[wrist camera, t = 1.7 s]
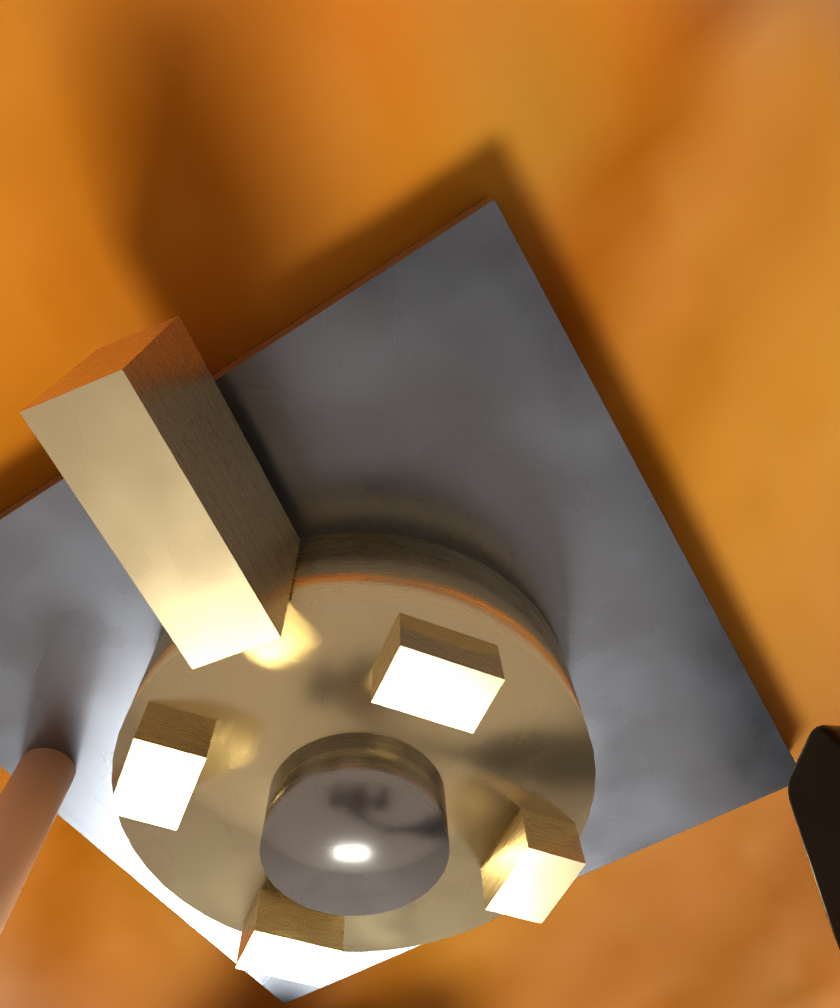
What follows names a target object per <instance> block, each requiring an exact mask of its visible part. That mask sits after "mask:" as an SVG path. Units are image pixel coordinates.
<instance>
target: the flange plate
mask: <svg viewBox="0 0 840 1008" xmlns="http://www.w3.org/2000/svg"><path fill="white" fill-rule="evenodd" d="M212 377H213V379H214V381H215V383H216V385H217V386H218V388H219V390H220V392H221V394H222V396H223V398H224V399H225V401H226V403H227V405H228V407H229V409H230V411H231V412H232V414H233V416H234V418H235V420H236V422H237V424H238V425H239V427H240V429H241V431H242V433H243V435H244V437H245V438H246V440H247V442H248V444H249V446H250V448H251V450H252V451H253V453H254V455H255V457H256V459H257V461H258V463H259V464H260V466H261V468H262V470H263V472H264V474H265V476H266V477H267V479H268V481H269V483H270V485H271V487H272V489H273V490H274V492H275V494H276V496H277V498H278V500H279V502H280V503H281V505H282V507H283V509H284V511H285V513H286V515H287V516H288V518H289V520H290V522H291V524H292V526H293V528H294V529H295V531H296V533H297V535H298V537H299V539H300V538H305V537H311V536H317V535H322V534H332V533H348V532H366V533H385V534H393V535H399V536H405V537H411V538H417V539H421V540H424V541H428V542H431V543H434V544H438V545H441V546H445V547H448V548H450V549H452V550H455V551H457V552H459V553H462V554H464V555H466V556H469V557H471V558H473V559H475V560H477V561H479V562H480V563H482V564H484V565H485V566H487V567H489V568H490V569H492V570H494V571H496V572H497V573H499V574H500V575H501V576H503V577H504V578H505V579H506V580H508V581H509V582H510V583H511V584H513V585H514V586H515V587H517V588H518V589H519V590H520V591H521V592H522V593H523V594H524V595H525V596H526V597H527V598H528V599H529V600H530V601H531V602H532V604H533V605H534V606H535V607H536V608H537V609H538V610H539V612H540V613H541V615H542V616H543V617H544V619H545V620H546V622H547V623H548V625H549V626H550V627H551V629H552V631H553V633H554V635H555V637H556V639H557V641H558V643H559V646H560V648H561V650H562V653H563V656H564V659H565V662H566V665H567V668H568V671H569V674H570V677H571V680H572V683H573V686H574V689H575V692H576V695H577V698H578V702H579V705H580V708H581V711H582V714H583V717H584V720H585V723H586V726H587V729H588V733H589V736H590V739H591V743H592V746H593V751H594V760H595V769H596V777H595V791H594V798H593V802H592V806H591V810H590V814H589V818H588V820H587V822H586V825H585V827H584V829H583V832H582V834H581V836H580V838H579V839H580V843H581V847H582V850H583V854H584V858H585V862H586V865H585V866H584V867H583V869H582V870H581V871H580V873H579V874H578V875H577V877H579V876H581V875H583V874H586V873H588V872H590V871H592V870H595V869H597V868H599V867H602V866H604V865H606V864H609V863H611V862H613V861H616V860H618V859H620V858H623V857H625V856H627V855H629V854H632V853H634V852H636V851H639V850H641V849H643V848H646V847H648V846H650V845H653V844H655V843H657V842H660V841H662V840H664V839H667V838H669V837H671V836H673V835H676V834H678V833H680V832H683V831H685V830H687V829H690V828H692V827H694V826H697V825H699V824H701V823H704V822H706V821H708V820H710V819H713V818H715V817H717V816H720V815H722V814H724V813H727V812H729V811H731V810H734V809H736V808H738V807H741V806H743V805H745V804H748V803H750V802H752V801H754V800H757V799H759V798H761V797H764V796H766V795H768V794H771V793H773V792H775V791H778V790H780V789H782V788H785V787H787V786H788V784H789V779H790V776H791V773H792V771H793V769H794V767H795V765H796V763H795V761H794V759H793V757H792V756H791V754H790V752H789V750H788V748H787V746H786V744H785V743H784V741H783V739H782V737H781V735H780V733H779V731H778V729H777V728H776V726H775V724H774V722H773V720H772V718H771V716H770V714H769V713H768V711H767V709H766V707H765V705H764V703H763V701H762V699H761V698H760V696H759V694H758V692H757V690H756V688H755V686H754V684H753V683H752V681H751V679H750V677H749V675H748V673H747V671H746V669H745V668H744V666H743V664H742V662H741V660H740V658H739V656H738V654H737V653H736V651H735V649H734V647H733V645H732V643H731V641H730V639H729V638H728V636H727V634H726V632H725V630H724V628H723V626H722V624H721V623H720V621H719V619H718V617H717V615H716V613H715V611H714V609H713V608H712V606H711V604H710V602H709V600H708V598H707V596H706V595H705V593H704V591H703V589H702V587H701V585H700V583H699V581H698V580H697V578H696V576H695V574H694V572H693V570H692V568H691V566H690V565H689V563H688V561H687V559H686V557H685V555H684V553H683V551H682V550H681V548H680V546H679V544H678V542H677V540H676V538H675V536H674V535H673V533H672V531H671V529H670V527H669V525H668V523H667V521H666V520H665V518H664V516H663V514H662V512H661V510H660V508H659V506H658V505H657V503H656V501H655V499H654V497H653V495H652V493H651V491H650V490H649V488H648V486H647V484H646V482H645V480H644V478H643V476H642V475H641V473H640V471H639V469H638V467H637V465H636V463H635V461H634V460H633V458H632V456H631V454H630V452H629V450H628V448H627V447H626V445H625V443H624V441H623V439H622V437H621V435H620V433H619V432H618V430H617V428H616V426H615V424H614V422H613V420H612V418H611V417H610V415H609V413H608V411H607V409H606V407H605V405H604V403H603V402H602V400H601V398H600V396H599V394H598V392H597V390H596V388H595V387H594V385H593V383H592V381H591V379H590V377H589V375H588V373H587V372H586V370H585V368H584V366H583V364H582V362H581V360H580V358H579V357H578V355H577V353H576V351H575V349H574V347H573V345H572V343H571V342H570V340H569V338H568V336H567V334H566V332H565V330H564V328H563V327H562V325H561V323H560V321H559V319H558V317H557V315H556V314H555V312H554V310H553V308H552V306H551V304H550V302H549V300H548V299H547V297H546V295H545V293H544V291H543V289H542V287H541V285H540V284H539V282H538V280H537V278H536V276H535V274H534V272H533V270H532V269H531V267H530V265H529V263H528V261H527V259H526V257H525V255H524V254H523V252H522V250H521V248H520V246H519V244H518V242H517V240H516V239H515V237H514V235H513V233H512V231H511V229H510V227H509V225H508V224H507V222H506V220H505V218H504V216H503V214H502V212H501V210H500V209H499V207H498V205H497V203H496V201H495V199H493V198H492V197H491V196H487V197H486V198H484V199H483V200H481V201H480V202H478V203H476V204H475V205H473V206H472V207H470V208H469V209H467V210H466V211H464V212H463V213H461V214H459V215H458V216H456V217H455V218H453V219H452V220H450V221H449V222H447V223H446V224H444V225H443V226H441V227H439V228H438V229H436V230H435V231H433V232H432V233H430V234H429V235H427V236H426V237H424V238H423V239H421V240H419V241H418V242H416V243H415V244H413V245H412V246H410V247H409V248H407V249H406V250H404V251H403V252H401V253H399V254H398V255H396V256H395V257H393V258H392V259H390V260H389V261H387V262H386V263H384V264H383V265H381V266H379V267H378V268H376V269H375V270H373V271H372V272H370V273H369V274H367V275H366V276H364V277H363V278H361V279H359V280H358V281H356V282H355V283H353V284H352V285H350V286H349V287H347V288H346V289H344V290H343V291H341V292H339V293H338V294H336V295H335V296H333V297H332V298H330V299H329V300H327V301H326V302H324V303H323V304H321V305H319V306H318V307H316V308H315V309H313V310H312V311H310V312H309V313H307V314H306V315H304V316H303V317H301V318H299V319H298V320H296V321H295V322H293V323H292V324H290V325H289V326H287V327H286V328H284V329H283V330H281V331H279V332H278V333H276V334H275V335H273V336H272V337H270V338H269V339H267V340H266V341H264V342H263V343H261V344H259V345H258V346H256V347H255V348H253V349H252V350H250V351H249V352H247V353H246V354H244V355H243V356H241V357H239V358H238V359H236V360H235V361H233V362H232V363H230V364H229V365H227V366H226V367H224V368H223V369H221V370H219V371H218V372H216V373H215V374H213V375H212ZM164 629H165V628H164V626H163V625H162V623H161V622H160V620H159V619H158V617H157V616H156V614H155V613H154V612H153V610H152V609H151V607H150V606H149V604H148V603H147V601H146V600H145V598H144V597H143V595H142V594H141V592H140V591H139V589H138V588H137V586H136V585H135V583H134V582H133V580H132V579H131V577H130V576H129V574H128V573H127V571H126V570H125V568H124V567H123V565H122V564H121V562H120V561H119V559H118V558H117V556H116V555H115V553H114V552H113V550H112V549H111V547H110V546H109V544H108V543H107V542H106V540H105V539H104V537H103V536H102V534H101V533H100V531H99V530H98V528H97V527H96V525H95V524H94V522H93V521H92V519H91V518H90V516H89V515H88V513H87V512H86V510H85V509H84V507H83V506H82V504H81V503H80V501H79V500H78V498H77V497H76V495H75V494H74V492H73V491H72V489H71V488H70V486H69V485H68V483H67V482H66V480H65V479H64V477H63V476H62V475H61V474H59V475H58V476H56V477H55V478H53V479H52V480H50V481H49V482H47V483H46V484H44V485H42V486H41V487H39V488H38V489H36V490H35V491H33V492H32V493H30V494H29V495H27V496H26V497H24V498H22V499H21V500H19V501H18V502H16V503H15V504H13V505H12V506H10V507H9V508H7V509H6V510H4V511H2V512H1V513H0V766H1V767H2V768H3V769H5V770H6V771H7V772H8V773H9V774H11V775H12V774H13V772H14V770H15V768H16V767H17V765H18V763H19V761H20V760H21V758H22V756H23V755H24V754H25V753H26V752H28V751H30V750H32V749H36V748H50V749H54V750H57V751H60V752H62V753H64V754H65V755H67V756H68V757H69V758H70V759H71V760H72V762H73V763H74V765H75V768H76V774H75V777H74V779H73V781H72V784H71V786H70V788H69V790H68V792H67V794H66V796H65V798H64V801H63V803H62V805H61V807H60V809H59V811H58V813H57V814H58V815H60V816H61V817H62V818H63V819H64V820H66V821H67V822H68V823H69V824H70V825H72V826H73V827H74V828H75V829H76V830H77V831H79V832H80V833H81V834H82V835H83V836H85V837H86V838H87V839H88V840H89V841H91V842H92V843H93V844H94V845H95V846H97V847H98V848H99V849H100V850H101V851H103V852H104V853H105V854H106V855H107V856H109V857H110V858H111V859H112V860H113V861H115V862H116V863H117V864H118V865H119V866H120V867H122V868H123V869H124V870H125V871H126V872H128V873H129V874H130V875H131V876H132V877H134V878H135V879H136V880H137V881H138V882H140V883H141V884H142V885H143V886H144V887H146V888H147V889H148V890H149V891H150V892H152V893H153V894H154V895H155V896H156V897H157V898H159V899H160V900H161V901H162V902H163V903H165V904H166V905H167V906H168V907H169V908H171V909H172V910H173V911H174V912H175V913H177V914H178V915H179V916H180V917H181V918H183V919H184V920H185V921H186V922H187V923H189V924H190V925H191V926H192V927H193V928H195V929H196V930H197V931H198V932H199V933H200V934H202V935H203V936H204V937H205V938H206V939H208V940H209V941H210V942H211V943H212V944H214V945H215V946H216V947H217V948H218V949H220V950H221V951H222V952H223V953H224V954H226V955H227V956H228V957H229V958H230V959H232V960H233V961H234V962H235V963H236V962H237V956H238V950H239V945H240V939H241V933H242V932H240V931H237V930H235V929H232V928H229V927H227V926H225V925H223V924H221V923H219V922H217V921H215V920H213V919H211V918H209V917H207V916H205V915H204V914H202V913H200V912H199V911H197V910H196V909H194V908H193V907H191V906H189V905H188V904H186V903H185V902H183V901H182V900H181V899H179V898H178V897H177V896H176V895H175V894H173V893H172V892H171V891H170V890H168V889H167V888H166V887H165V886H164V885H163V884H162V883H161V882H160V881H159V880H158V879H157V878H156V877H155V876H154V875H153V874H152V873H151V872H150V871H149V870H148V869H147V868H146V866H145V865H144V863H143V862H142V861H141V859H140V858H139V856H138V855H137V854H136V852H135V851H134V849H133V848H132V846H131V844H130V842H129V840H128V838H127V836H126V834H125V832H124V830H123V829H122V827H121V823H120V820H119V817H118V815H114V814H110V813H107V812H108V810H109V807H110V804H111V801H112V798H113V789H112V781H111V780H112V762H113V754H114V750H115V746H116V742H117V738H118V734H119V731H120V729H121V726H122V724H123V722H124V719H125V717H126V715H127V713H128V710H129V708H130V706H131V703H132V701H133V699H134V696H135V694H136V692H137V690H138V687H139V685H140V683H141V680H142V678H143V676H144V673H145V671H146V669H147V666H148V664H149V662H150V660H151V657H152V655H153V653H154V650H155V648H156V646H157V644H158V641H159V639H160V637H161V635H162V632H163V631H164ZM418 946H419V945H418ZM414 947H417V946H413V947H407V948H400V949H394V950H384V951H370V952H342V954H341V956H340V957H339V959H338V961H337V962H336V964H335V966H334V967H333V969H332V971H331V972H330V974H329V976H328V978H327V979H326V981H325V983H324V984H323V986H322V987H324V986H326V985H329V984H331V983H333V982H336V981H338V980H340V979H343V978H345V977H347V976H349V975H352V974H354V973H356V972H359V971H361V970H363V969H366V968H368V967H370V966H373V965H375V964H377V963H380V962H382V961H384V960H387V959H389V958H391V957H393V956H396V955H398V954H400V953H403V952H405V951H407V950H410V949H412V948H414ZM245 971H246V970H245ZM246 972H247V973H248V974H249V975H251V976H252V977H253V978H254V979H255V980H257V981H258V982H259V983H260V984H261V985H263V986H264V987H265V988H266V989H267V990H269V991H270V992H271V993H272V994H273V995H275V996H276V997H277V998H278V999H279V1000H281V1001H282V1002H283V1003H284V1004H285V1003H287V1002H289V1001H292V1000H294V999H296V998H299V997H301V996H303V995H306V994H308V993H310V992H312V991H315V990H317V989H319V988H322V987H318V986H314V985H309V984H305V983H300V982H296V981H291V980H287V979H282V978H278V977H273V976H269V975H264V974H260V973H255V972H251V971H246Z"/></svg>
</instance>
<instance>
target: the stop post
mask: <svg viewBox="0 0 840 1008" xmlns="http://www.w3.org/2000/svg"><path fill="white" fill-rule="evenodd" d="M75 774H76V768H75V765H74V763H73V762H72V760H71V759H70V758H69V757H68V756H67V755H65V754H64V753H62V752H60V751H57V750H54V749H50V748H36V749H32V750H30V751H28V752H26V753H25V754H24V755H23V756H22V758H21V760H20V761H19V763H18V765H17V767H16V768H15V770H14V772H13V774H12V775H11V777H10V779H9V781H8V782H7V784H6V786H5V788H4V789H3V791H2V793H1V795H0V934H1V932H2V930H3V928H4V926H5V924H6V921H7V919H8V917H9V915H10V913H11V911H12V909H13V907H14V904H15V902H16V900H17V898H18V896H19V894H20V892H21V890H22V887H23V885H24V883H25V881H26V879H27V877H28V875H29V873H30V871H31V868H32V866H33V864H34V862H35V860H36V858H37V856H38V854H39V851H40V849H41V847H42V845H43V843H44V841H45V839H46V837H47V834H48V832H49V830H50V828H51V826H52V824H53V822H54V820H55V818H56V815H57V813H58V811H59V809H60V807H61V805H62V803H63V801H64V798H65V796H66V794H67V792H68V790H69V788H70V786H71V784H72V781H73V779H74V777H75Z"/></svg>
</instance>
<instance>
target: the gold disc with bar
mask: <svg viewBox="0 0 840 1008" xmlns="http://www.w3.org/2000/svg"><path fill="white" fill-rule="evenodd" d="M20 413H21V415H22V416H23V418H24V419H25V421H26V422H27V424H28V425H29V427H30V428H31V430H32V431H33V433H34V434H35V436H36V437H37V439H38V440H39V442H40V443H41V445H42V446H43V448H44V449H45V451H46V452H47V454H48V455H49V457H50V458H51V460H52V461H53V463H54V464H55V466H56V467H57V469H58V470H59V472H60V473H61V475H62V476H63V477H64V479H65V480H66V482H67V483H68V485H69V486H70V488H71V489H72V491H73V492H74V494H75V495H76V497H77V498H78V500H79V501H80V503H81V504H82V506H83V507H84V509H85V510H86V512H87V513H88V515H89V516H90V518H91V519H92V521H93V522H94V524H95V525H96V527H97V528H98V530H99V531H100V533H101V534H102V536H103V537H104V539H105V540H106V542H107V543H108V544H109V546H110V547H111V549H112V550H113V552H114V553H115V555H116V556H117V558H118V559H119V561H120V562H121V564H122V565H123V567H124V568H125V570H126V571H127V573H128V574H129V576H130V577H131V579H132V580H133V582H134V583H135V585H136V586H137V588H138V589H139V591H140V592H141V594H142V595H143V597H144V598H145V600H146V601H147V603H148V604H149V606H150V607H151V609H152V610H153V612H154V613H155V614H156V616H157V617H158V619H159V620H160V622H161V623H162V625H163V626H164V628H165V629H164V631H163V632H162V635H161V637H160V639H159V641H158V644H157V646H156V648H155V650H154V653H153V655H152V657H151V660H150V662H149V664H148V666H147V669H146V671H145V673H144V676H143V678H142V680H141V683H140V685H139V687H138V690H137V692H136V694H135V696H134V699H133V701H132V703H131V706H130V708H129V710H128V713H127V715H126V717H125V719H124V722H123V724H122V726H121V729H120V731H119V734H118V738H117V742H116V746H115V750H114V754H113V762H112V780H111V781H112V789H113V798H112V801H111V804H110V807H109V810H108V812H107V813H110V814H114V815H118V817H119V820H120V823H121V827H122V829H123V830H124V832H125V834H126V836H127V838H128V840H129V842H130V844H131V846H132V848H133V849H134V851H135V852H136V854H137V855H138V856H139V858H140V859H141V861H142V862H143V863H144V865H145V866H146V868H147V869H148V870H149V871H150V872H151V873H152V874H153V875H154V876H155V877H156V878H157V879H158V880H159V881H160V882H161V883H162V884H163V885H164V886H165V887H166V888H167V889H168V890H170V891H171V892H172V893H173V894H175V895H176V896H177V897H178V898H179V899H181V900H182V901H183V902H185V903H186V904H188V905H189V906H191V907H193V908H194V909H196V910H197V911H199V912H200V913H202V914H204V915H205V916H207V917H209V918H211V919H213V920H215V921H217V922H219V923H221V924H223V925H225V926H227V927H229V928H232V929H235V930H237V931H240V932H242V933H241V939H240V945H239V950H238V956H237V962H236V967H235V968H237V969H242V970H246V971H251V972H255V973H260V974H264V975H269V976H273V977H278V978H282V979H287V980H291V981H296V982H300V983H305V984H309V985H314V986H318V987H322V986H323V984H324V983H325V981H326V979H327V978H328V976H329V974H330V972H331V971H332V969H333V967H334V966H335V964H336V962H337V961H338V959H339V957H340V956H341V954H342V952H370V951H384V950H394V949H400V948H407V947H413V946H418V945H422V944H426V943H431V942H435V941H439V940H443V939H446V938H449V937H452V936H454V935H457V934H460V933H463V932H466V931H469V930H471V929H473V928H475V927H478V926H480V925H482V924H484V923H487V922H489V921H491V920H493V919H495V918H496V917H498V916H500V915H502V914H505V915H509V916H513V917H517V918H521V919H524V920H528V921H532V922H536V923H540V924H542V922H543V921H544V920H545V918H546V917H547V916H548V914H549V913H550V912H551V910H552V909H553V907H554V906H555V905H556V903H557V902H558V901H559V899H560V898H561V897H562V895H563V894H564V893H565V891H566V890H567V889H568V887H569V886H570V885H571V883H572V882H573V881H574V879H575V878H576V877H577V875H578V874H579V873H580V871H581V870H582V869H583V867H584V866H585V865H586V862H585V858H584V854H583V850H582V847H581V843H580V839H579V838H580V836H581V834H582V832H583V829H584V827H585V825H586V822H587V820H588V818H589V814H590V810H591V806H592V802H593V798H594V791H595V777H596V769H595V760H594V751H593V746H592V743H591V739H590V736H589V733H588V729H587V726H586V723H585V720H584V717H583V714H582V711H581V708H580V705H579V702H578V698H577V695H576V692H575V689H574V686H573V683H572V680H571V677H570V674H569V671H568V668H567V665H566V662H565V659H564V656H563V653H562V650H561V648H560V646H559V643H558V641H557V639H556V637H555V635H554V633H553V631H552V629H551V627H550V626H549V625H548V623H547V622H546V620H545V619H544V617H543V616H542V615H541V613H540V612H539V610H538V609H537V608H536V607H535V606H534V605H533V604H532V602H531V601H530V600H529V599H528V598H527V597H526V596H525V595H524V594H523V593H522V592H521V591H520V590H519V589H518V588H517V587H515V586H514V585H513V584H511V583H510V582H509V581H508V580H506V579H505V578H504V577H503V576H501V575H500V574H499V573H497V572H496V571H494V570H492V569H490V568H489V567H487V566H485V565H484V564H482V563H480V562H479V561H477V560H475V559H473V558H471V557H469V556H466V555H464V554H462V553H459V552H457V551H455V550H452V549H450V548H448V547H445V546H441V545H438V544H434V543H431V542H428V541H424V540H421V539H417V538H411V537H405V536H399V535H393V534H385V533H366V532H348V533H332V534H322V535H317V536H311V537H305V538H300V539H299V537H298V535H297V533H296V531H295V529H294V528H293V526H292V524H291V522H290V520H289V518H288V516H287V515H286V513H285V511H284V509H283V507H282V505H281V503H280V502H279V500H278V498H277V496H276V494H275V492H274V490H273V489H272V487H271V485H270V483H269V481H268V479H267V477H266V476H265V474H264V472H263V470H262V468H261V466H260V464H259V463H258V461H257V459H256V457H255V455H254V453H253V451H252V450H251V448H250V446H249V444H248V442H247V440H246V438H245V437H244V435H243V433H242V431H241V429H240V427H239V425H238V424H237V422H236V420H235V418H234V416H233V414H232V412H231V411H230V409H229V407H228V405H227V403H226V401H225V399H224V398H223V396H222V394H221V392H220V390H219V388H218V386H217V385H216V383H215V381H214V379H213V377H212V375H211V373H210V372H209V370H208V368H207V366H206V364H205V362H204V360H203V359H202V357H201V355H200V353H199V351H198V349H197V347H196V346H195V344H194V342H193V340H192V338H191V336H190V334H189V333H188V331H187V329H186V327H185V325H184V323H183V321H182V320H181V318H180V316H179V315H178V316H175V317H173V318H171V319H168V320H166V321H164V322H161V323H159V324H157V325H154V326H152V327H150V328H147V329H145V330H142V331H140V332H138V333H135V334H133V335H131V336H128V337H126V338H124V339H121V340H119V341H117V342H114V343H112V344H110V345H107V346H105V347H102V348H100V349H98V350H96V351H95V352H94V353H93V354H91V355H90V356H89V357H88V358H86V359H85V360H84V361H83V362H81V363H80V364H79V365H78V366H77V367H75V368H74V369H73V370H72V371H70V372H69V373H68V374H67V375H65V376H64V377H63V378H62V379H60V380H59V381H58V382H57V383H55V384H54V385H53V386H52V387H51V388H49V389H48V390H47V391H46V392H44V393H43V394H42V395H41V396H39V397H38V398H37V399H36V400H34V401H33V402H32V403H31V404H29V405H28V406H27V407H26V408H25V409H23V410H22V411H21V412H20Z"/></svg>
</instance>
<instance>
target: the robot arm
mask: <svg viewBox="0 0 840 1008" xmlns="http://www.w3.org/2000/svg"><path fill="white" fill-rule="evenodd" d="M788 794H789V800H790V804H791V807H792V810H793V813H794V816H795V819H796V822H797V825H798V829H799V832H800V835H801V838H802V841H803V844H804V847H805V850H806V853H807V856H808V859H809V862H810V865H811V868H812V871H813V875H814V878H815V881H816V884H817V887H818V890H819V893H820V896H821V899H822V902H823V905H824V908H825V911H826V914H827V917H828V920H829V923H830V926H831V928H832V931H833V934H834V937H835V939H836V942H837V944H838V947H839V949H840V726H833V725H821V726H818V727H816V728H815V729H814V730H813V731H812V732H811V733H810V735H809V737H808V739H807V741H806V743H805V746H804V748H803V750H802V752H801V754H800V756H799V758H798V761H797V763H796V765H795V767H794V769H793V771H792V773H791V776H790V779H789V784H788Z"/></svg>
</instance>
